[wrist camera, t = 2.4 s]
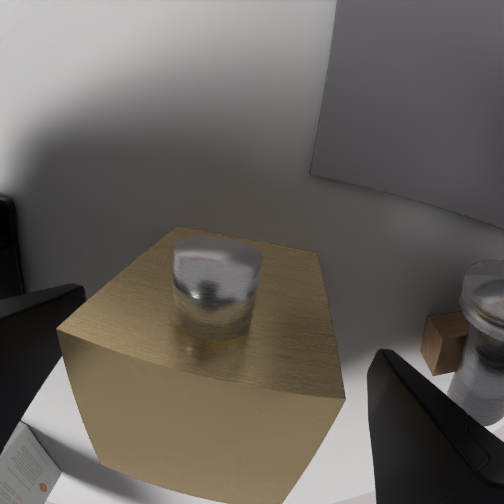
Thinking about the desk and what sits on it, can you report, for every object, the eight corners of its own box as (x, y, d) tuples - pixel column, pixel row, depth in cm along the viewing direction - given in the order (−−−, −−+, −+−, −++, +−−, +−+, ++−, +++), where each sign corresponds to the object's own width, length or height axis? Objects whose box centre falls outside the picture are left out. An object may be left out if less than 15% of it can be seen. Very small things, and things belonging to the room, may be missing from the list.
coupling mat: (309, 173, 8) (310, 174, 8) (345, -93, 5) (346, -97, 4) (527, 238, 8) (531, 240, 8) (538, 0, 4) (542, -1, 4)
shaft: (431, 253, 9) (508, 327, 4) (507, 247, 8) (587, 303, 4) (414, 359, 10) (452, 451, 6) (484, 345, 10) (533, 418, 5)
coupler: (171, 361, 12) (109, 483, 6) (181, 188, 9) (45, 257, 4) (279, 384, 11) (267, 523, 6) (325, 214, 9) (378, 329, 3)
